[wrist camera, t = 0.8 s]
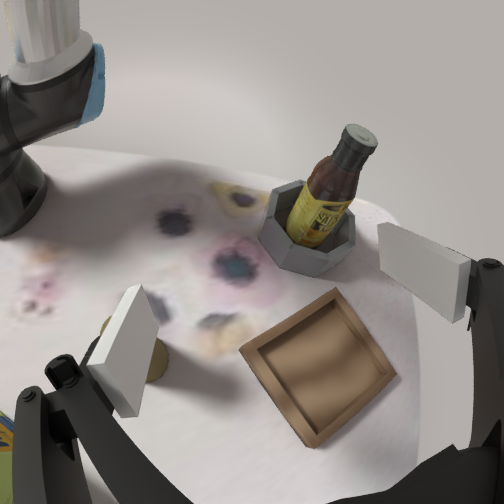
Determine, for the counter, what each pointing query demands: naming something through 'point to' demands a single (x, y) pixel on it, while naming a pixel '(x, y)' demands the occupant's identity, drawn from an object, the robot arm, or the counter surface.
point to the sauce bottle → (330, 188)
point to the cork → (152, 358)
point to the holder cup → (297, 255)
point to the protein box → (6, 459)
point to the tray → (319, 367)
